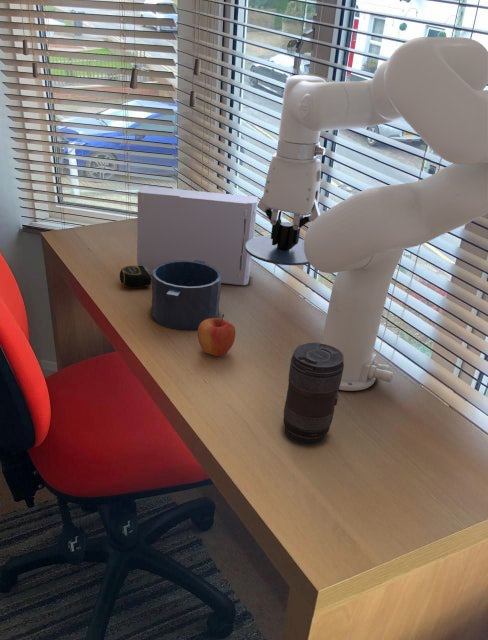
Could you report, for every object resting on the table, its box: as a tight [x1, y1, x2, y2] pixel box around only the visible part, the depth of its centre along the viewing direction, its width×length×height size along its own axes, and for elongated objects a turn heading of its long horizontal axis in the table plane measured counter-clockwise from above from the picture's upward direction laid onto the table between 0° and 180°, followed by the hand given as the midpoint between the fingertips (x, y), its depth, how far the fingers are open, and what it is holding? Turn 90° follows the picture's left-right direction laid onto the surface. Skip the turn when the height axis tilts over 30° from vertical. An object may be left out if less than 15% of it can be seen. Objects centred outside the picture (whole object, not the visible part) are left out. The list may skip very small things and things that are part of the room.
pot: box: [151, 260, 222, 331], centre depth 139 cm, size 14×20×10 cm
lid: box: [245, 221, 311, 266], centre depth 130 cm, size 15×15×6 cm
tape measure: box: [119, 265, 152, 289], centre depth 152 cm, size 7×7×4 cm
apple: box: [196, 313, 236, 357], centre depth 126 cm, size 7×7×8 cm
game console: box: [136, 185, 259, 286], centre depth 154 cm, size 6×27×20 cm, turn 81°
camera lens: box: [283, 342, 344, 446], centre depth 103 cm, size 8×8×15 cm
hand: (283, 244), depth 131 cm, fingers closed on lid, 2 cm apart
